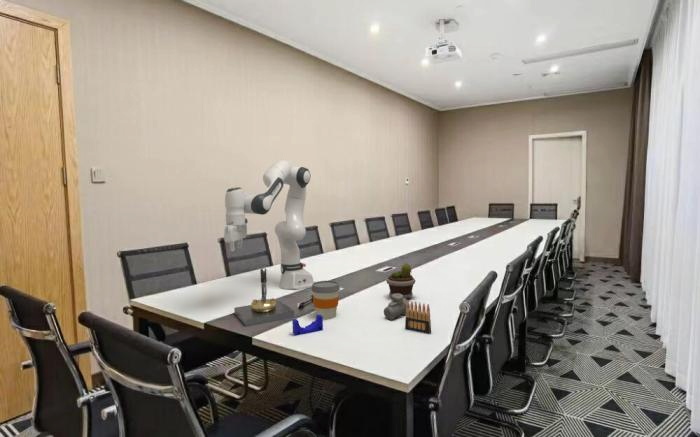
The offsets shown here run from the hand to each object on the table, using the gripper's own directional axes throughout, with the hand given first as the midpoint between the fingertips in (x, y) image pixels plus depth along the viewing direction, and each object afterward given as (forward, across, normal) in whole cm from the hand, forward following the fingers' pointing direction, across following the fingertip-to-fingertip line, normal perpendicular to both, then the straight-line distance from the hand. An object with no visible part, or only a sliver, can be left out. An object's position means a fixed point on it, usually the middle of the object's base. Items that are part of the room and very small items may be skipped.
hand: (236, 249), depth 190 cm
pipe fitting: (+29, -9, -77) cm, 83 cm away
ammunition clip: (+29, -27, -85) cm, 94 cm away
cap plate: (+29, -10, -16) cm, 35 cm away
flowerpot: (+29, +20, -80) cm, 88 cm away
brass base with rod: (+26, -7, -15) cm, 31 cm away
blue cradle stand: (+30, -29, -40) cm, 57 cm away
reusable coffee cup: (+29, -10, -45) cm, 55 cm away
